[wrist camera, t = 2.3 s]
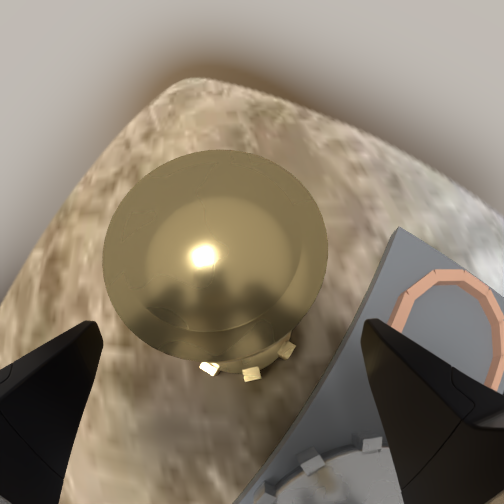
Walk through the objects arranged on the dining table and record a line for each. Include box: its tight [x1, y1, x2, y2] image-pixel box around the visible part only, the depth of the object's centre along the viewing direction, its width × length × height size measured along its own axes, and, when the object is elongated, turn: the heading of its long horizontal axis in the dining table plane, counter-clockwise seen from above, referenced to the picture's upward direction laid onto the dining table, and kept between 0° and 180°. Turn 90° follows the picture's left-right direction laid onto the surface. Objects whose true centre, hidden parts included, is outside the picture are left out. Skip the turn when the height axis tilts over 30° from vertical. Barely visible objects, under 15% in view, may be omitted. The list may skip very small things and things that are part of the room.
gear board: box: [233, 227, 504, 504], centre depth 14 cm, size 26×14×2 cm, turn 148°
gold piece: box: [102, 150, 328, 382], centre depth 12 cm, size 7×7×13 cm
